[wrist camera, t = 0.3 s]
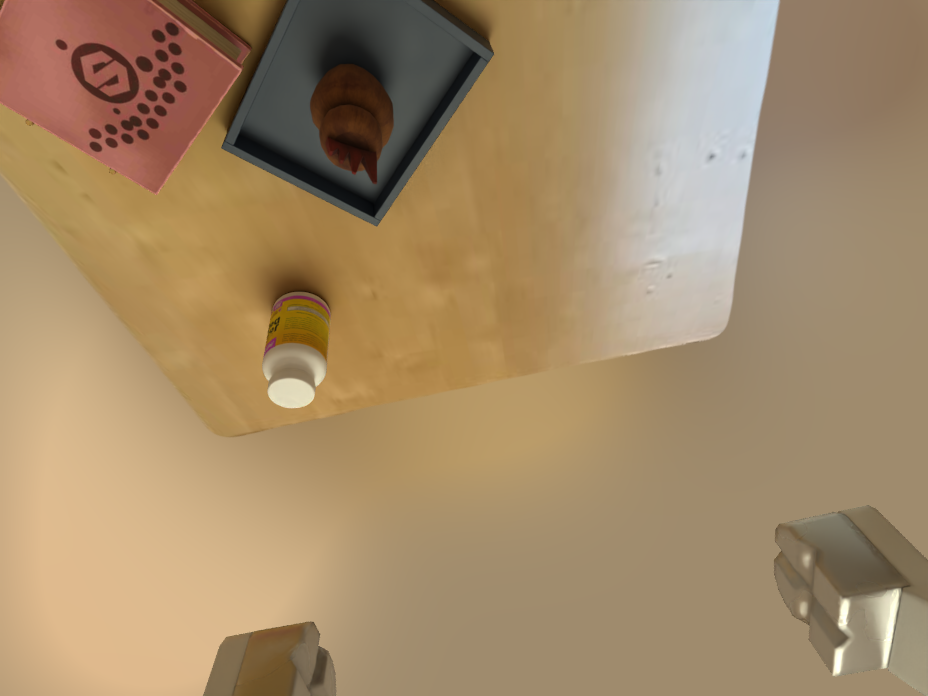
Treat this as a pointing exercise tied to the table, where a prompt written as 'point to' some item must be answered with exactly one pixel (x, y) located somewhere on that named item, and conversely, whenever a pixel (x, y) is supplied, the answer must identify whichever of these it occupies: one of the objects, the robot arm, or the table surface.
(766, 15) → the table surface
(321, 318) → the supplement bottle
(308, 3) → the tray
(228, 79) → the book
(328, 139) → the wooden figurine
